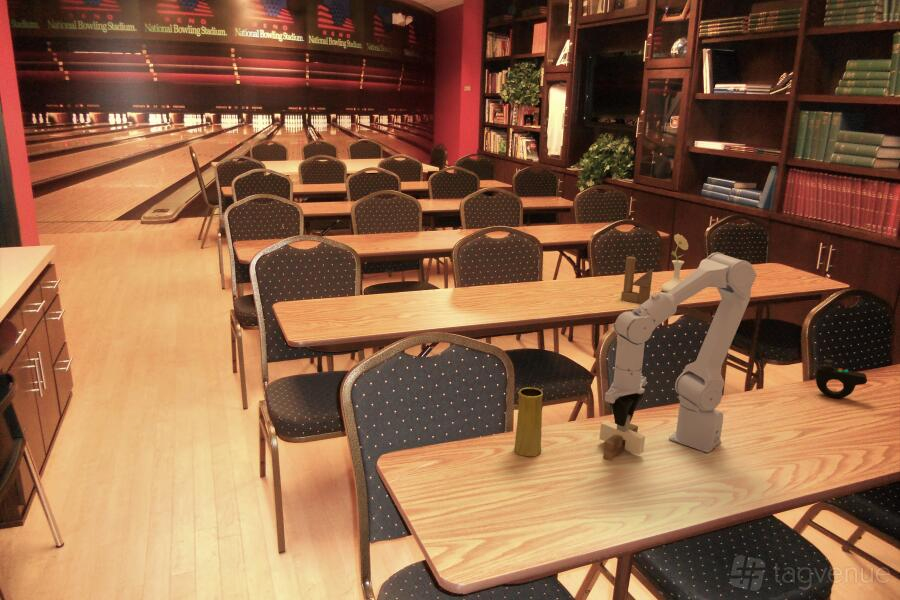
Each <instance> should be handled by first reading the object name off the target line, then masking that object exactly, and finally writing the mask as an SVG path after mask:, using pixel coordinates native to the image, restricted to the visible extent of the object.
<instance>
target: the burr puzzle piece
mask: <svg viewBox="0 0 900 600" xmlns="http://www.w3.org/2000/svg"><path fill="white" fill-rule="evenodd" d="M630 417H631V415H628V416H627V420H626V423H625V426H620V425H617V424H615V423H613V422H611V421H608V420H604V421H602V422H601V423H600V432H599V440H601V441H603V442H605V441H606V440H607V439H608V438H610V437H611V436H613V435H614V434H615V435H618V436H621V437H623V438H622V439H623V440H626V442H625V451H628V452H630V453H633V454H635V455H638V456H639V455H641V454H642V453H644V449H645V442H646V441H645V440H646V435H644V434H641V433H639V432H634V431H631V430H629V426H630V424H631V422H630Z"/></svg>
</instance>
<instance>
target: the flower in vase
mask: <svg viewBox="0 0 900 600" xmlns="http://www.w3.org/2000/svg"><path fill="white" fill-rule="evenodd" d="M673 238H674V242H675V243H676V245H677V246H676V248H675V251H674V250H672V252H671V253H670V255H672V256H673V257H675V260H671V262H672V264H673V268H674V270H673V271H674V272H673V276H672V278H671V279H670V280H668V281H666V282H665V283H663V284H662V285H661V287H660V288H661V291H663V292H664V293H668V292H669V291H670V290H671V289H673V288H674V287H675V286H676V285H677V284H679V283H680V282H681V281H682V279H681V278H680V272H681V269H682V266H683V264H684V263H685V261H684V260H679V258H681V257H682V256H684V254H681V255H679V256H677V250H678V248H680V249H681V250H684V251H687V250H688V249H689V243H688V240H687V239H686V238H685V237H684V236H683V235H682V234H681V235H680V234H679V233H677V234H674V237H673Z"/></svg>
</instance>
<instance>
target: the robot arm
mask: <svg viewBox="0 0 900 600" xmlns="http://www.w3.org/2000/svg"><path fill="white" fill-rule="evenodd" d="M756 278H757V273H756V271H755V268H754V267H753V264H752V263H751V262H749V261H747V260H744V259H739V258H736V257H734V256H733V257H732V256H729V255H728V254H727V255H725V254H724V253H722V252H718V251H716V252H713V253H711V254H710V255H708V256H707V257H706V258H704V259H702V260H701V261H700V263H699V266H698V267H697V268H696V269H695V270H694V271H692V272H691V273H689V275H687V276H686V277H685V278H684V279H683V280H682V279H681V282H680V283H679V284H677V285H676V286H675V287H674V288H673V289H671V290H670V291H669V292H668V293H667V292H665V291H663V292H662V291H659V292H653V294H650V299H648V300H647V301H645V302H644V303H643V304H639V305H637V306H635V307H634V308H633V309H632V310H631V311H630V310H629V311H624V312H622V313H620V314H619V315H618V316H617V318H616V320H615V322H613V324H612V327H613V331H614V332H615V334H616V341H617V344H616V351H615V361H614V362H615V364H614V374H613V381H612V383H611V385H610V387H609V389H608V390H607V391H606V392H605V394H604V395H605V396H604V401H605V402H606V403H610V405H611V409H612V413H613V419H614V424H616V425H620V426H625V423H626V420H627V416H628V415H631V417H630V423H631V422H632V419H633V416H634V414H635V411H636V408H637V406H638V404H639V403H640V401H641V400H642V398H643V397H644V393H645V388H643V387H645V386H646V385H647V377H646V376H643V375H642V371H643V363H644V351H645V342H646V341H648V340H649V339H650V338H651V337H652V334H653V331H655V330H656V328H657V327H658V326H660V325H661V324H662V323H664V322H665V321H666V320H668V319H670V318H671V317H672V316H674V315H676V313H677V307H678V305H681V303H684V302H686V301H687V300H689V299H690V298H691V297H694V296H695V295H696V294H698V293H699V292H702V291H703V290H705V289H707V288H716V289H717V292H718V293H719V296H720V297H721V299H720V301H719V305H718V307H717V309H716V311H715V314H714V317H713V318H712V321H711V323H710V326H709V329H708V331H707V334H706V335H705V338H704V340H703V343H702V345H701V347H700V349H699V352H698V354H697V356H696V357H697V358H696V359H695V361H693V362H691V363H689V364H686V365H685V367H684V370H683V371H682V372H681V373H680V375H679V376H678V377H677V378H676V380H675V383H674V390H675V392H676V394H678V400H679V407H678V414H677V423H676V428H675V429H676V430H675V432H674V433H673V434H671V435H670V436H669V437H668V439H669V440H670V441H672V442H675V443H677V444H681V445H683V446H684V445H685V446H687V447H690V448H692V449H696V450H698V451H701V452H704V453H707V454H708V453H710V452H711V451H712V450H713V449H714V448H715V447H716V446H718V445H719V444H720V443H721V441H722V439H721V435H722V429H723V423H724V414H723V412H721V411H719V410H717V408H718V407H719V405H720V403H721V402H722V399H723V388H724V386H725V380H724V378H723V376H722V374H721V368H722V366H723V364H724V363H725V362H724V361H725V359H726V357H727V354H728V351H729V350H730V347H731V345H732V343H733V340H734V337H735V336H736V334H737V330H738V328H739V326H740V324H741V321H742V319H743V316H744V314H745V312H746V309H747V307H748V305H749V303H750V300H751V294H752V293H751V292H752V287H753V285H754V283H755V280H756Z"/></svg>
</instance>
